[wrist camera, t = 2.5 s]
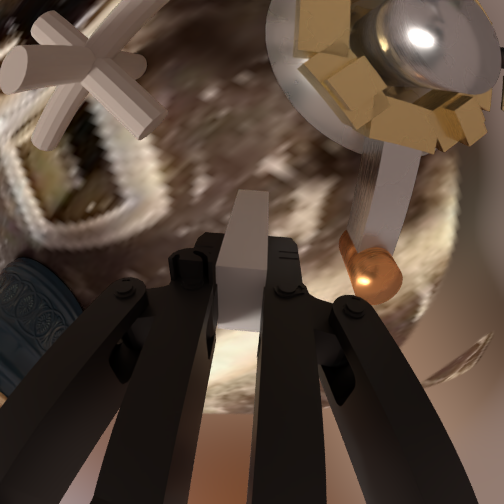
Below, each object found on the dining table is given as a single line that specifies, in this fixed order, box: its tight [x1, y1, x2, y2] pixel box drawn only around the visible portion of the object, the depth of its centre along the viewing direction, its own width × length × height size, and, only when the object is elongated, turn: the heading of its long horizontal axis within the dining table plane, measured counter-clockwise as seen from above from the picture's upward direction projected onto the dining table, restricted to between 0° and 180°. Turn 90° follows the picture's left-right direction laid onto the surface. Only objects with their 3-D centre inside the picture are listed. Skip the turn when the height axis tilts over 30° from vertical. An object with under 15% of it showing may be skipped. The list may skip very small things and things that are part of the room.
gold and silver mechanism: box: [266, 0, 504, 156], centre depth 8 cm, size 14×21×8 cm, turn 87°
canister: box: [0, 257, 83, 408], centre depth 18 cm, size 13×13×18 cm
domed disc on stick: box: [293, 0, 492, 305], centre depth 11 cm, size 20×11×4 cm, turn 177°
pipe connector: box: [0, 0, 170, 151], centre depth 9 cm, size 10×10×10 cm
